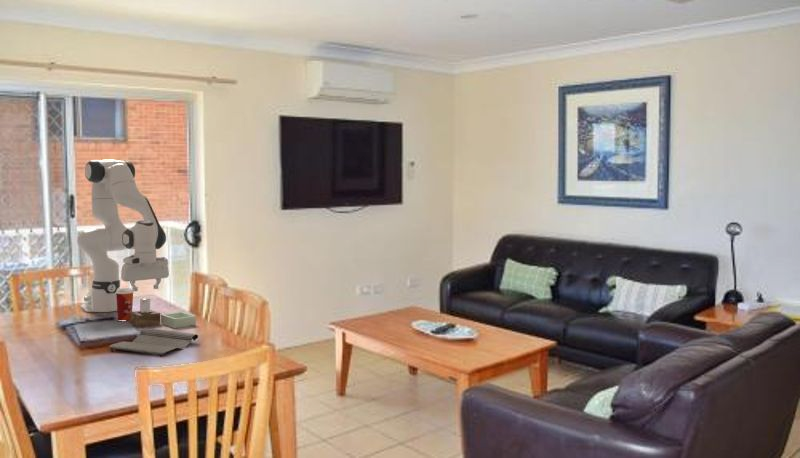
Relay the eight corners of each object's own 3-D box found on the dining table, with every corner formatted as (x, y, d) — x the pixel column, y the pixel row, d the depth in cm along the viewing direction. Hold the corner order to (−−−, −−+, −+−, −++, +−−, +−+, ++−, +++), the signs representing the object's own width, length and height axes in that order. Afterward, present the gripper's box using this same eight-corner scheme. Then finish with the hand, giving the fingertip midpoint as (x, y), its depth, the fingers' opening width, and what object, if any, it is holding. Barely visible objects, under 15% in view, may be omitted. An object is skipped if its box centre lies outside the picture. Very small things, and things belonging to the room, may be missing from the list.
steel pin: (138, 323, 290) (138, 298, 290) (147, 322, 293) (147, 297, 293) (142, 325, 288) (142, 300, 287) (151, 324, 291) (151, 299, 290)
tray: (160, 323, 292) (160, 314, 292) (181, 320, 300) (181, 311, 299) (174, 328, 284) (174, 319, 284) (195, 325, 292) (195, 316, 291)
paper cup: (129, 322, 292) (129, 291, 291) (112, 322, 292) (112, 290, 291) (137, 318, 300) (137, 288, 299) (120, 318, 300) (120, 287, 299)
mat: (107, 353, 244) (107, 340, 244) (146, 338, 267) (147, 327, 267) (163, 359, 239) (163, 346, 238) (198, 344, 262) (198, 332, 261)
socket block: (130, 323, 290) (130, 312, 290) (150, 320, 297) (150, 309, 297) (139, 327, 284) (139, 315, 284) (160, 324, 291) (160, 312, 291)
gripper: (164, 256, 298) (164, 286, 299) (119, 259, 283) (119, 291, 284) (171, 257, 294) (171, 288, 295) (126, 260, 279) (126, 293, 280)
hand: (145, 289), depth 289 cm, fingers open, 8 cm apart
